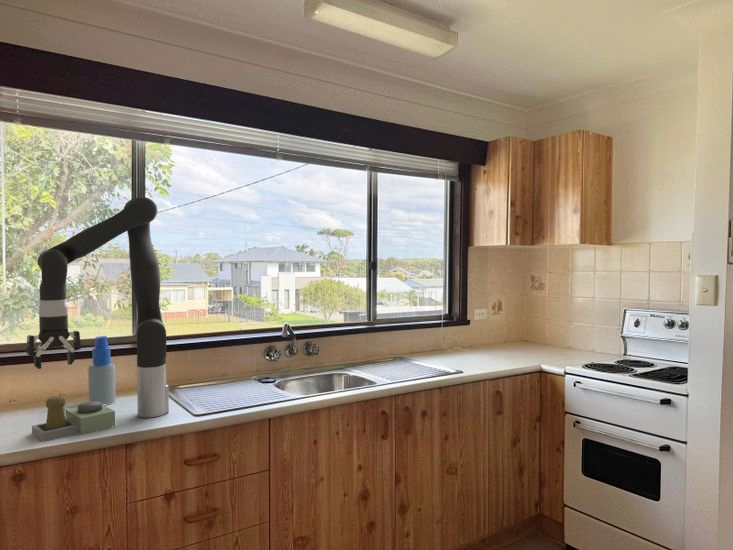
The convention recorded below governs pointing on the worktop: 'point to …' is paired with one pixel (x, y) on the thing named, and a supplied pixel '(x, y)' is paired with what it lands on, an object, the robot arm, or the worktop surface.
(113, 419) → the stepped tray with pebble
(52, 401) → the olive brown upright piece
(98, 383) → the spray bottle
